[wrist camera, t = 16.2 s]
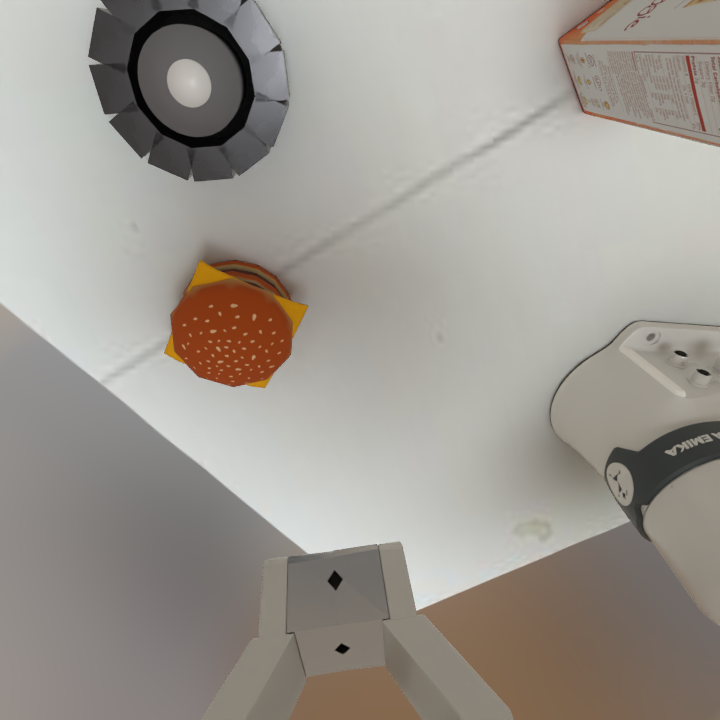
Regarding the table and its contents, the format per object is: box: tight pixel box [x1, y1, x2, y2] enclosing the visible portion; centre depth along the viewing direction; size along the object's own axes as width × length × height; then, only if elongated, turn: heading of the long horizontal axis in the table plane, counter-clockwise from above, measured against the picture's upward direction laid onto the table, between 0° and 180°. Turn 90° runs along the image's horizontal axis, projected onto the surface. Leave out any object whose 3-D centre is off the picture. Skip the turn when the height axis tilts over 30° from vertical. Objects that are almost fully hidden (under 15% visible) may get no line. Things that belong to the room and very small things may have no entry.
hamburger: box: [164, 260, 308, 388], centre depth 39 cm, size 9×10×7 cm
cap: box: [138, 24, 247, 137], centre depth 29 cm, size 6×6×5 cm
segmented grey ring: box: [88, 0, 290, 181], centre depth 30 cm, size 11×11×4 cm
